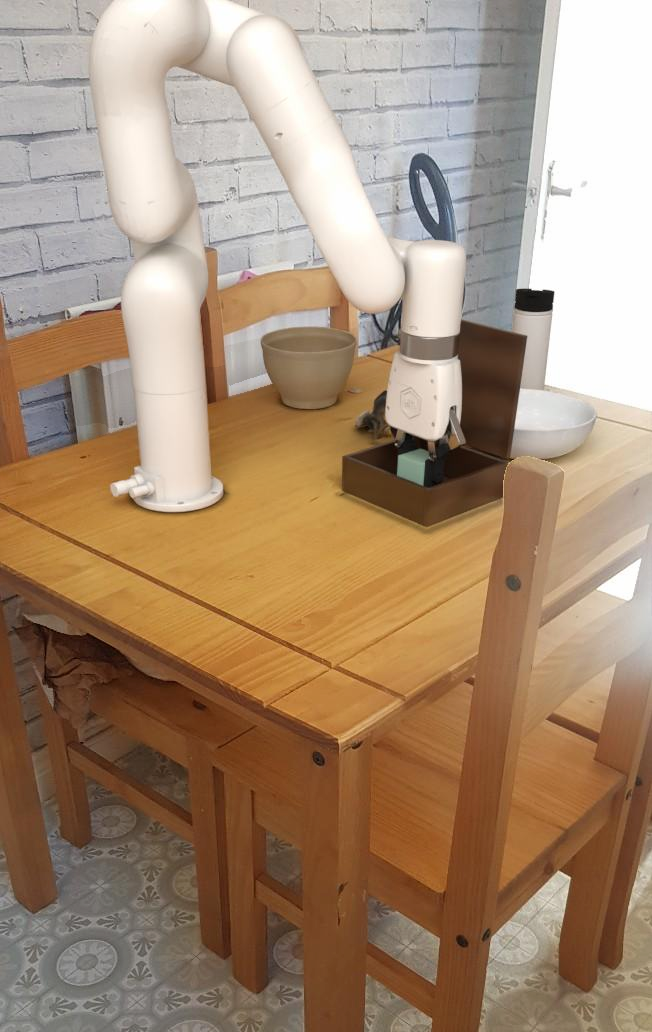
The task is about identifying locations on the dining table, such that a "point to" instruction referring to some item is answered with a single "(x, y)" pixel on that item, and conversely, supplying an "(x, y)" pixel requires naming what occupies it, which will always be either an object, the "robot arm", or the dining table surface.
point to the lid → (490, 385)
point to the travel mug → (534, 333)
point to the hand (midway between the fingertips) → (419, 478)
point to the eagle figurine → (375, 417)
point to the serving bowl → (550, 424)
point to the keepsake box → (462, 489)
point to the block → (413, 465)
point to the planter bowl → (308, 364)
